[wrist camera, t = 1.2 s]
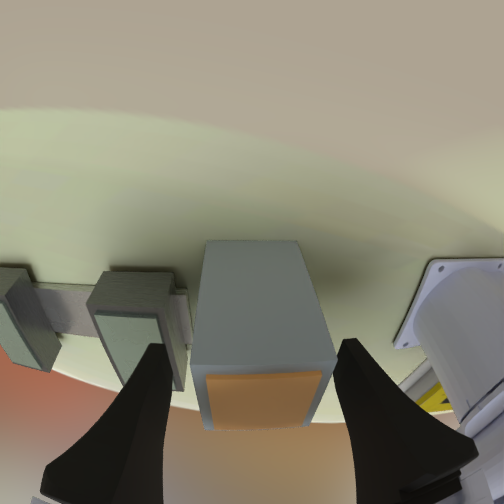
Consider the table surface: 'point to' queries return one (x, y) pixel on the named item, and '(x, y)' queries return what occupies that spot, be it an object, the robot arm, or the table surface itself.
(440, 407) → the emergency button
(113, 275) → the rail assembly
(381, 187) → the table surface
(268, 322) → the block
